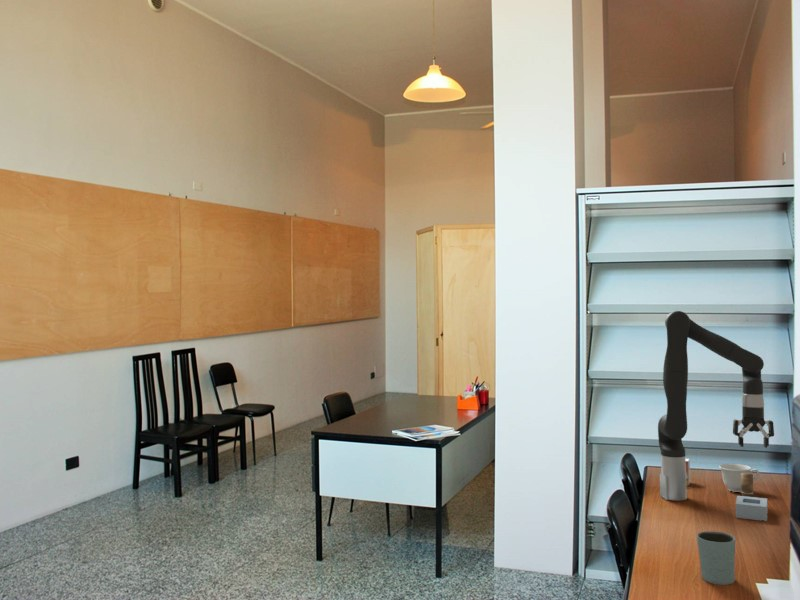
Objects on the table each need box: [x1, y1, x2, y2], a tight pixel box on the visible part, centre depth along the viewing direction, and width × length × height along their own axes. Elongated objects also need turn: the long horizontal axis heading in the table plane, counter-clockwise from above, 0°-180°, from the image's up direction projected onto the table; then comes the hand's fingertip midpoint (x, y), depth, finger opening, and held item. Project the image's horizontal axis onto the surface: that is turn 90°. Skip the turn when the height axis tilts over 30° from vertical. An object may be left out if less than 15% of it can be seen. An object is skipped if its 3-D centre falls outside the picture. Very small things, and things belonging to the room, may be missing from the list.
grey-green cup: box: [696, 530, 736, 586], centre depth 197 cm, size 10×10×12 cm
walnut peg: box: [740, 473, 754, 497], centre depth 267 cm, size 4×4×12 cm
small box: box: [685, 458, 691, 486], centre depth 302 cm, size 8×6×10 cm
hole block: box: [735, 495, 769, 522], centre depth 255 cm, size 12×10×5 cm
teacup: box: [718, 463, 760, 493], centre depth 286 cm, size 12×15×10 cm
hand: (753, 446), depth 270 cm, fingers open, 8 cm apart
